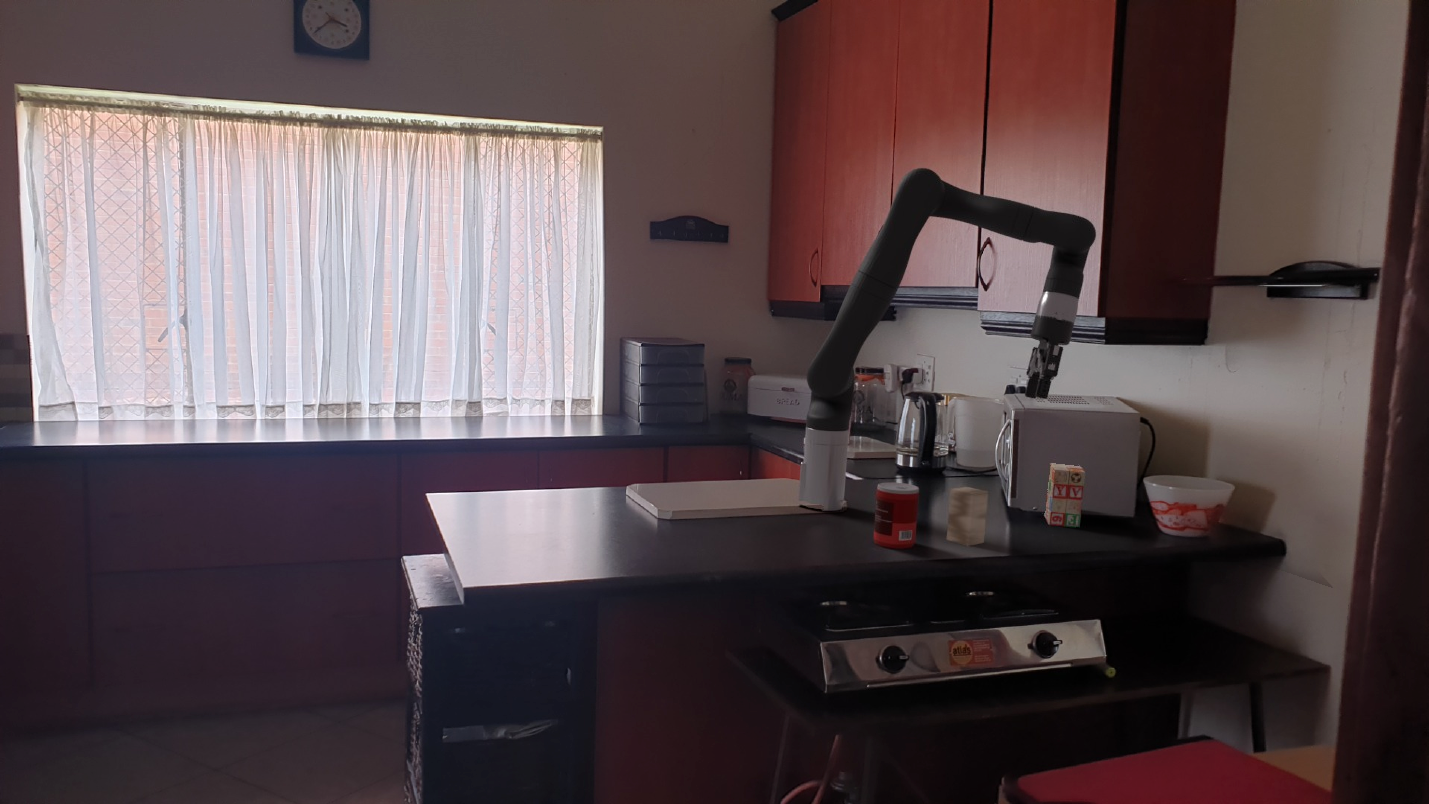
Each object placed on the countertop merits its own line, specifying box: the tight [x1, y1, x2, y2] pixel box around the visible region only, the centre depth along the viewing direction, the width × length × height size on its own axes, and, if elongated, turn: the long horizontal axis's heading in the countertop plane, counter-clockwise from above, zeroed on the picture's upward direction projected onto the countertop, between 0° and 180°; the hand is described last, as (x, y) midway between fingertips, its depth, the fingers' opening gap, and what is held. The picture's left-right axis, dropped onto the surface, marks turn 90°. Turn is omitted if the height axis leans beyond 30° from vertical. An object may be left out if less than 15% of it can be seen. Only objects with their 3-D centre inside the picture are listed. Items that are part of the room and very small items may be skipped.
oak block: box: [946, 486, 989, 547], centre depth 191 cm, size 5×5×10 cm
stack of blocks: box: [1043, 463, 1086, 528], centre depth 219 cm, size 21×6×12 cm, turn 169°
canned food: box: [873, 482, 920, 550], centre depth 186 cm, size 8×8×11 cm
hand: (1035, 397), depth 197 cm, fingers open, 8 cm apart
